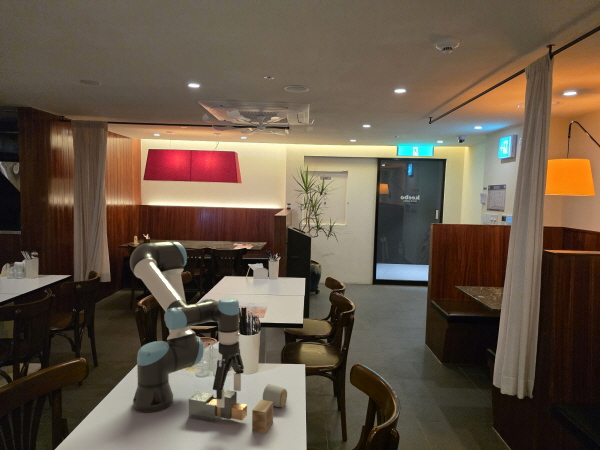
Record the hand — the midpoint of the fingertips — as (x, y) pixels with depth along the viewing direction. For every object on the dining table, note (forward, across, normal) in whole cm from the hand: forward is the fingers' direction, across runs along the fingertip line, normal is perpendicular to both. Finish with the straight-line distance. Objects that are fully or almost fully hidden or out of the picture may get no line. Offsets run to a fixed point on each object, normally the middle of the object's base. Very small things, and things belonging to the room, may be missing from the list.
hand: (229, 398), depth 153 cm
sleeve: (+8, 0, +10) cm, 13 cm away
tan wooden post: (+6, 0, +4) cm, 7 cm away
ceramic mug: (+9, +18, -12) cm, 23 cm away
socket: (+9, 0, -13) cm, 16 cm away
